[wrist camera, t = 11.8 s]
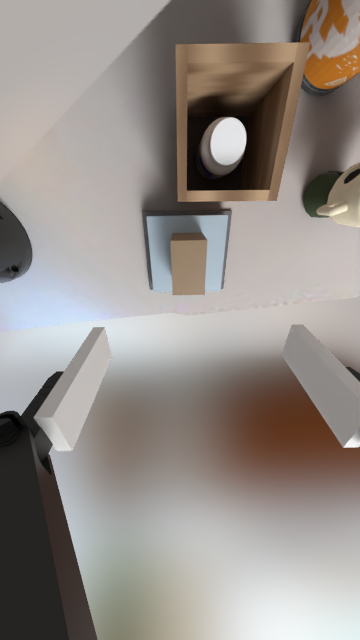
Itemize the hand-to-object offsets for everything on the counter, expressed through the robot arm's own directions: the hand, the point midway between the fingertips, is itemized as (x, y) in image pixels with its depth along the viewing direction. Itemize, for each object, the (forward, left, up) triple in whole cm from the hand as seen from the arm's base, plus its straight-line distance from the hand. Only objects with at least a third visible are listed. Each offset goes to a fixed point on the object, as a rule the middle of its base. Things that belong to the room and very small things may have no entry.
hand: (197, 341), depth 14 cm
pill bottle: (+4, +14, -27) cm, 31 cm away
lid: (0, 0, -26) cm, 26 cm away
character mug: (+22, +9, -27) cm, 36 cm away
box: (+4, +14, -27) cm, 30 cm away
